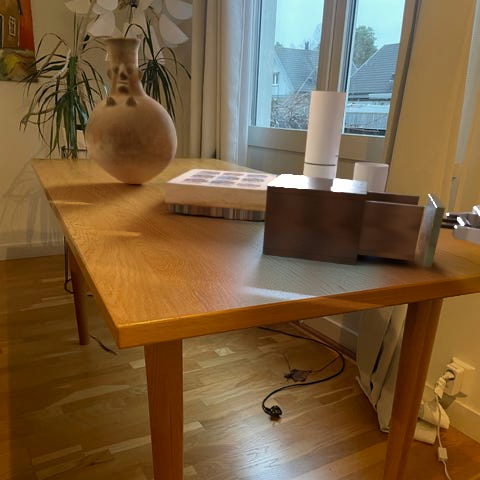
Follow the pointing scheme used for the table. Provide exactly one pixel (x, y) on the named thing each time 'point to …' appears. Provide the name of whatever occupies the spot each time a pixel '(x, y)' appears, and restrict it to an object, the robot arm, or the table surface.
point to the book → (219, 193)
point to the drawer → (403, 226)
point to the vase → (129, 122)
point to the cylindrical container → (324, 134)
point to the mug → (371, 175)
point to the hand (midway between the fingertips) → (449, 224)
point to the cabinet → (314, 218)
